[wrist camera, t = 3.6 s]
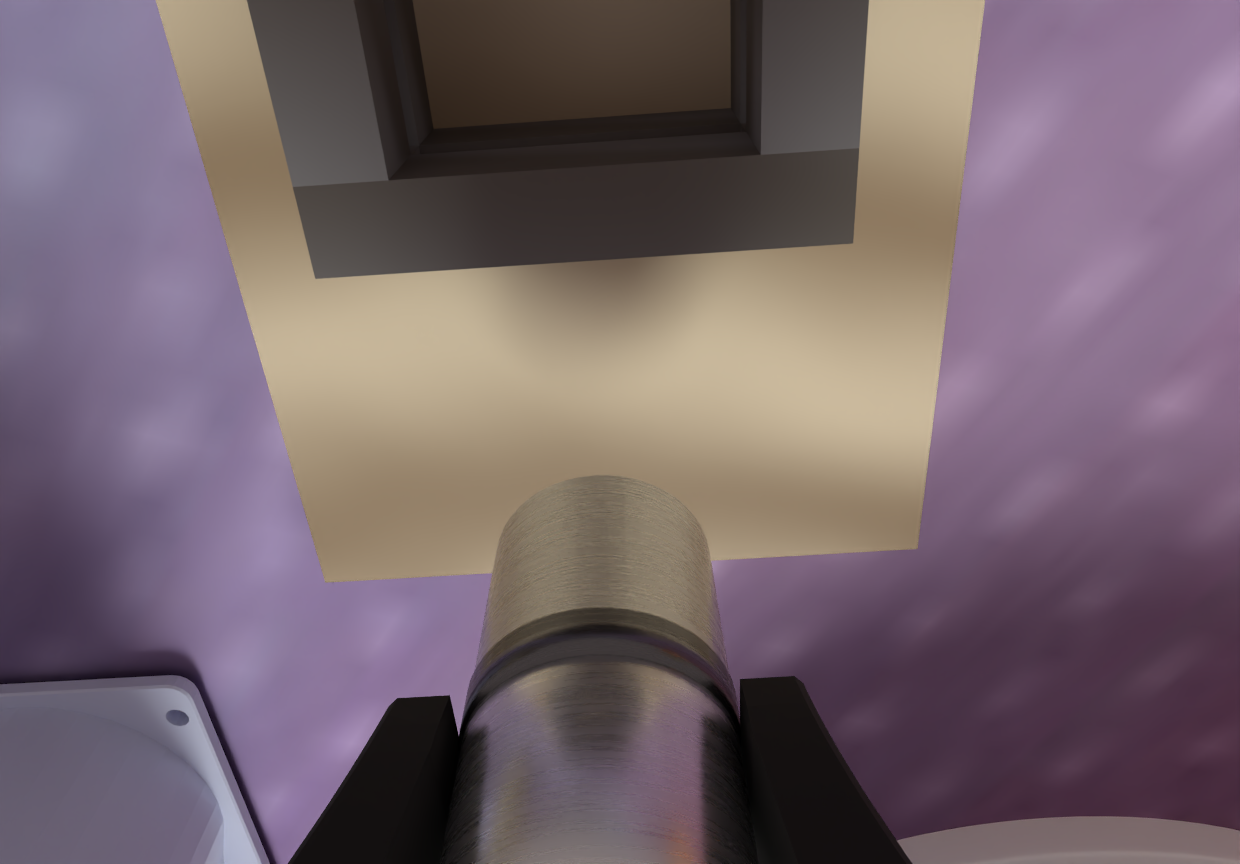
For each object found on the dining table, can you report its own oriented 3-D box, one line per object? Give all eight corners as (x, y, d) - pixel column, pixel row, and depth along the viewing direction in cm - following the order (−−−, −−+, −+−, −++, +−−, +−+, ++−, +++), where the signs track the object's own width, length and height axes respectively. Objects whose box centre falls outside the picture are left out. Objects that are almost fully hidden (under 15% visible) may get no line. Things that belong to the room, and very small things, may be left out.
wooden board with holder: (903, 519, 19) (973, 663, 15) (338, 552, 19) (273, 701, 15) (1010, -444, 11) (1199, -617, 8) (85, -365, 12) (-155, -498, 8)
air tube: (714, 641, 14) (843, 1530, 6) (508, 653, 14) (383, 1546, 6) (711, 465, 13) (879, 1367, 5) (478, 480, 13) (261, 1393, 5)
